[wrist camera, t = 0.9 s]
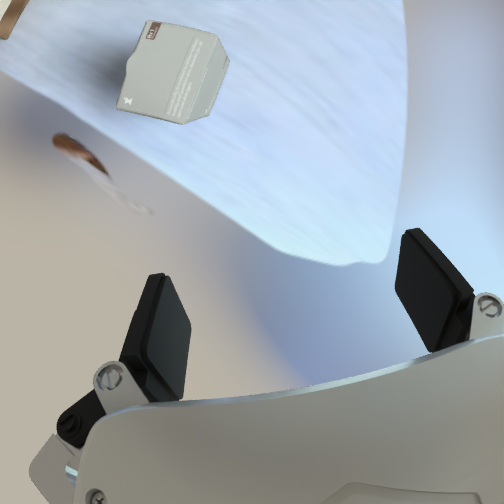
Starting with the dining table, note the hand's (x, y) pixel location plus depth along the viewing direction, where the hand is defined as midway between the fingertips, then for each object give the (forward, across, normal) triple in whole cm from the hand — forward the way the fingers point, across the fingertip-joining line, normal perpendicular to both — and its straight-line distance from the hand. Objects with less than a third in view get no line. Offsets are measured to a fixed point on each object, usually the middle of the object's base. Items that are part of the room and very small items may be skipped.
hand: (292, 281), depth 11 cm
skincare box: (+30, +6, -9) cm, 32 cm away
